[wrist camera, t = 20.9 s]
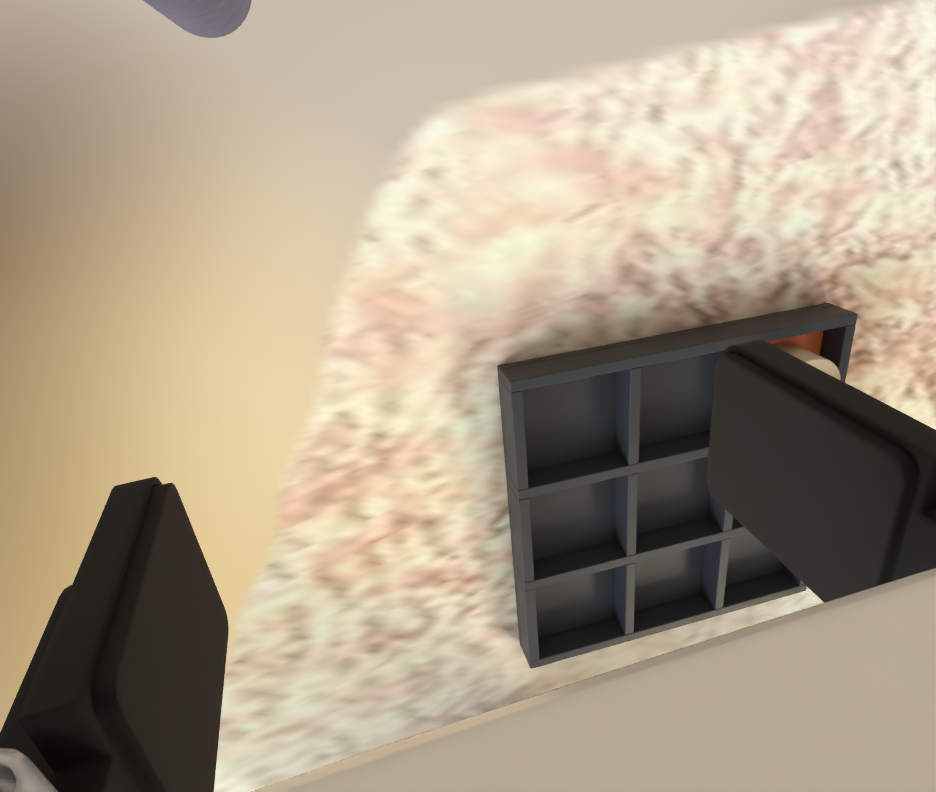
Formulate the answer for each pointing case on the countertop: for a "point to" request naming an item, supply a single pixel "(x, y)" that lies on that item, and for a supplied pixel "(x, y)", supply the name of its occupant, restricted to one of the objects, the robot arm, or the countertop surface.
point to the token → (810, 358)
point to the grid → (634, 486)
